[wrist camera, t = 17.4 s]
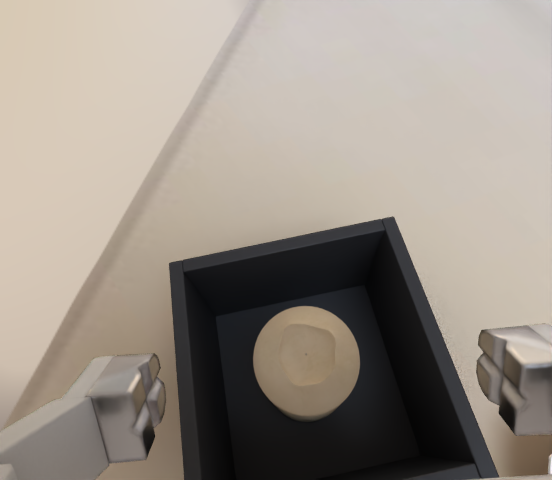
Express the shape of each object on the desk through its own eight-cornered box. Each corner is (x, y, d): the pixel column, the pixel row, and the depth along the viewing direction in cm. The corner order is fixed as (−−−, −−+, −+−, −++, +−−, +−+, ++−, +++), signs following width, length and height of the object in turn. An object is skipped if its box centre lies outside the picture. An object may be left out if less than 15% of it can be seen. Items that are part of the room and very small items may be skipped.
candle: (254, 365, 28) (230, 330, 19) (317, 327, 29) (323, 278, 20) (292, 439, 26) (285, 438, 17) (360, 395, 27) (387, 373, 18)
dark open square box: (229, 513, 24) (188, 552, 16) (206, 311, 31) (168, 262, 22) (434, 466, 25) (501, 479, 16) (370, 276, 31) (394, 215, 23)
